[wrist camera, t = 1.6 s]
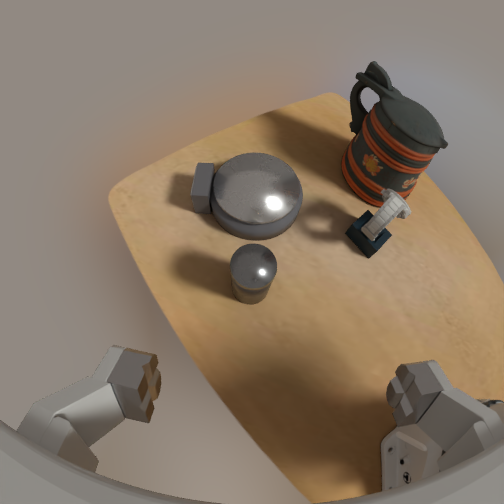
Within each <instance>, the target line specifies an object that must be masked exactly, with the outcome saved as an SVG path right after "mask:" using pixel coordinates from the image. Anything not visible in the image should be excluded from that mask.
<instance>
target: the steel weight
mask: <svg viewBox="0 0 504 504" xmlns="http://www.w3.org/2000/svg"><path fill="white" fill-rule="evenodd" d="M230 272H231V281H232V291H233V294H234V296H235V297H236V298H237V299H238V300H239V301H240V302H242V303H244V304H256V303H259V302H261V301H262V300H263V299H264V298H265V297H266V295H267V293H268V290H269V288H270V286H271V283H272V281H273V279H274V277H275V275H276V272H277V262H276V258H275V256H274V255H273V253H272V252H271V251H270V250H269V249H268V248H266V247H265V246H263V245H260V244H247V245H244V246H242V247H240V248H239V249H238V250H236V252H235V253H234V254H233V256H232V258H231V261H230Z"/></svg>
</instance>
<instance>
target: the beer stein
mask: <svg viewBox="0 0 504 504" xmlns="http://www.w3.org/2000/svg"><path fill="white" fill-rule="evenodd" d="M356 79H358V80H359V81H358V82H357V83H356V84H355V85H354V87H353V89H352V91H351V95H350V108H351V115H352V122H350V124H349V125H350V128H351V132H354V133H355V134H356V136H355V137H354V138H353V139H352V141H351V143H350V144H349V145H348V147H347V150H346V151H345V153H344V155H343V158H342V171H343V174H344V176H345V179H346V180H347V182H348V184H349V185H350V187H351V188H352V189H353V190H354V191H355V192H356V194H358V195H359V196H360V197H361V198H362V199H364V200H365V201H367V202H368V203H370V204H373V205H375V206H379V207H381V206H382V205H383V204H384V200H383V198H382V196H383V194H382V193H381V191H382V190H383V189H385V190H387V189H392V190H393V191H395V192H396V193H398V194H399V195H400V196H401V197H402V198H403V199H404V200H406V198H407V197H408V196H409V194H410V192H411V191H412V190H413V189H414V187H415V185H416V182H417V179H418V178H419V176H420V174H421V173H422V172H423V171H424V170H425V169H426V168H427V167H428V165H429V164H430V162H431V160H432V158H433V156H434V155H435V153H437V152H438V151H439V149H440V148H443V149H444V148H446V147H447V145H448V143H447V142H446V141H445V140H444V136H443V132H442V130H441V127H440V126H439V124H438V122H437V121H436V119H435V118H434V117H433V115H432V114H431V113H430V112H429V111H428V110H427V109H425V108H424V107H423V106H422V105H420V104H419V103H417V102H415V101H413V100H411V99H409V98H407V97H405V96H403V95H402V94H401V93H400V92H399V91H398V90H397V89H395V88H394V87H393V86H392V84H391V81H390V78H389V76H388V74H387V73H386V72H385V70H384V69H383V68H382V67H380V66H379V65H378V64H377V62H375V61H373V62H371V63H370V64H369V65H368V67H367V69H366V71H365V73H361V72H360V73H357V74H356ZM366 87H369V88H371V89H372V90H374V92H376V93H377V94H378V95H379V97H380V101H379V102H377V103H376V104H374V106H373V108H372V110H370V111H369V113H368V112H367V111H366V109H365V108H364V107H363V105H362V103H361V99H360V95H361V92H362V90H363V89H364V88H366Z"/></svg>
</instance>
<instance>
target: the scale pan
mask: <svg viewBox="0 0 504 504" xmlns="http://www.w3.org/2000/svg"><path fill="white" fill-rule="evenodd" d="M213 187H214V195H215V199H216V201H217V203H218V205H219V206H220V208H221V209H222V210H223V211H224V212H225V213H226V214H227V215H228V216H230V217H231V218H233V219H235V220H237V221H240V222H242V223H246V224H252V225H265V224H270V223H274V222H277V221H279V220H281V219H283V218H284V217H286V216H287V215H288V214H289V213H290V212H291V211H292V210H293V209H294V207H295V205H296V203H297V201H298V198H299V194H300V185H299V181H298V178H297V176H296V174H295V172H294V171H293V170H292V168H291V167H290V166H289V165H288V164H286V163H285V162H284V161H282V160H280V159H279V158H277V157H274V156H271V155H268V154H264V153H246V154H241V155H238V156H236V157H233V158H231V159H230V160H228V161H227V162H225V163H224V164H223V165H222V166H221V167H220V169H219V170H218V172H217V173H216V176H215V179H214V185H213Z"/></svg>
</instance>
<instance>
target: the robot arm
mask: <svg viewBox="0 0 504 504" xmlns="http://www.w3.org/2000/svg"><path fill="white" fill-rule="evenodd" d="M157 365H158V359H157V355H155V354H152V353H147V352H142V351H138V350H134V349H130V348H124V347H120V346H117V345H113V346H111V347H110V348H109V350H108V351H107V353H106V355H105V356H104V358H103V359H102V361H101V363H100V364H99V366H98V367H97V369H96V371H95V373H94V374H93V376H92V377H86V378H84V379H82V380H80V381H78V382H76V383H74V384H72V385H70V386H68V387H66V388H64V389H62V390H60V391H58V392H56V393H54V394H52V395H50V396H48V397H45V398H43V399H41V400H39V401H37V402H36V403H34V404H33V406H32V407H31V409H30V410H29V412H28V413H27V415H26V416H25V418H24V420H23V421H22V423H21V425H20V426H19V428H18V430H17V431H15V430H14V429H12V428H11V427H9V426H8V425H6V424H5V423H4V422H2V421H1V420H0V504H220V503H211V502H203V501H197V500H190V499H184V498H179V497H174V496H169V495H165V494H161V493H156V492H152V491H149V490H144V489H141V488H138V487H134V486H131V485H128V484H125V483H122V482H119V481H116V480H113V479H110V478H107V477H105V476H102V475H99V474H97V473H95V471H96V468H97V465H98V462H99V461H98V459H97V458H96V456H95V455H94V454H93V452H92V451H91V450H90V449H89V447H90V446H91V445H92V444H94V443H95V442H96V441H98V440H99V439H100V438H102V437H103V436H104V435H105V434H107V433H108V432H109V431H111V430H112V429H113V428H115V427H116V426H117V425H118V424H120V423H121V422H122V421H123V420H124V419H125V418H128V419H132V420H136V421H141V422H145V423H149V422H150V419H151V416H152V413H153V410H154V405H153V401H154V400H155V399H157V398H158V396H159V393H160V388H161V374H160V371H159V370H158V369H157V368H156V367H157ZM395 373H396V377H394V378H393V379H392V380H391V381H390V383H389V384H388V386H387V392H386V396H387V401H388V403H389V405H390V406H392V407H393V408H394V411H393V416H394V419H395V421H396V424H397V427H396V428H395V429H394V430H393V431H392V432H390V433H389V434H388V435H387V436H386V437H385V438H384V439H383V440H382V443H381V459H382V491H381V492H377V493H373V494H369V495H365V496H360V497H355V498H350V499H344V500H338V501H331V502H323V503H314V504H504V402H503V401H501V400H490V399H474V398H472V397H471V396H469V395H467V394H466V393H464V392H463V391H461V390H459V389H458V388H453V386H452V385H451V383H450V381H449V380H448V378H447V377H446V375H445V374H444V372H443V370H442V369H441V367H440V366H439V364H438V363H437V362H436V361H435V360H429V361H423V362H415V363H407V364H401V365H400V366H399V367H398V368H397V370H396V372H395ZM389 448H391V449H390V450H389V451H388V449H389Z"/></svg>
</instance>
